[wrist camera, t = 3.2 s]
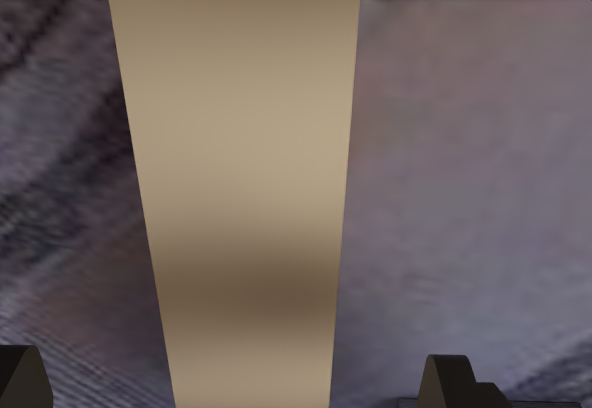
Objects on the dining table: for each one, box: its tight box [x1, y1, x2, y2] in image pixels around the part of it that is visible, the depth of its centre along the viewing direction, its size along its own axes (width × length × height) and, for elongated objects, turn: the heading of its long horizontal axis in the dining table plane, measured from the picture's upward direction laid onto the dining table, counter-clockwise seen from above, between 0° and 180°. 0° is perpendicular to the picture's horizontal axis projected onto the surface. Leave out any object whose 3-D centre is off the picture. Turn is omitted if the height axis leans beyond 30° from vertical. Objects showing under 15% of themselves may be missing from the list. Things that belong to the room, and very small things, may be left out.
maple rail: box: [109, 0, 360, 408], centre depth 16 cm, size 24×4×6 cm, turn 179°
